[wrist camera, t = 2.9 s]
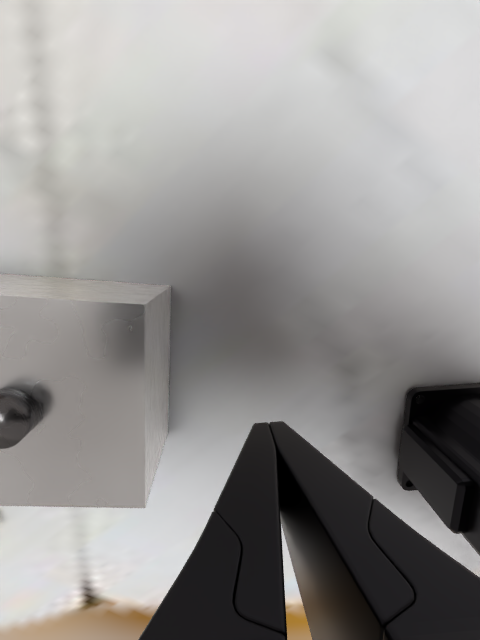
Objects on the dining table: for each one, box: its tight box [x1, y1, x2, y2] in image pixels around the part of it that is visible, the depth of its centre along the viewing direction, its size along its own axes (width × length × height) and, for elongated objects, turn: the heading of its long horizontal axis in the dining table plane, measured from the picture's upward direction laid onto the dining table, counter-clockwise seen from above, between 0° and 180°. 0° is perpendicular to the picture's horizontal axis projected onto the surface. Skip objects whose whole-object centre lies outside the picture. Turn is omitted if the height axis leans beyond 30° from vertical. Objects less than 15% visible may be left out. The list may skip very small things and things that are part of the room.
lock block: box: [0, 274, 171, 508], centre depth 12 cm, size 9×8×6 cm
